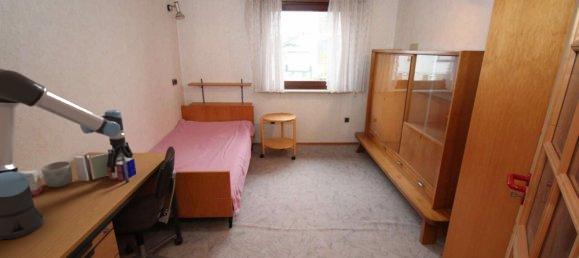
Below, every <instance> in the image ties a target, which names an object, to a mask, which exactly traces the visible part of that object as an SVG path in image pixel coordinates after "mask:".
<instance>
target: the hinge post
mask: <svg viewBox="0 0 579 258" xmlns="http://www.w3.org/2000/svg"><path fill="white" fill-rule="evenodd" d="M83 156H84V158H85V163H86V168H87V172H88V177H89V180H88V181H89V182H90V181H91V182H92V181H93V180H94V179H93V178H94V176H93V171H92V166H91V161H90V156H89V155H88V154H85V155H83Z"/></svg>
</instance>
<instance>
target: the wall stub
mask: <svg viewBox="0 0 579 258" xmlns="http://www.w3.org/2000/svg"><path fill="white" fill-rule="evenodd" d="M84 156H85V155H82V156H81V155H78V156H77V155H76V156H73V161H74V165H75V170H76V175H77V180H78V181H83V182H84V181H86V182H87V181H89V177H88V172H87V168H86V163H85V158H84Z"/></svg>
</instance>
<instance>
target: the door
mask: <svg viewBox="0 0 579 258" xmlns="http://www.w3.org/2000/svg"><path fill="white" fill-rule="evenodd" d="M115 154H116V153H115ZM119 157H125V155H124V154H123V153H122V152H121V153H120V154H119V156H118V158H119ZM125 158H126V157H125ZM89 159H90V165H91V170H92V175H93V178H94V179H99V178H102V177H106V176H109V173H108V168H107V163H108V152H106V153H102V154H98V155H92V156H89Z"/></svg>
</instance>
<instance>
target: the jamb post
mask: <svg viewBox="0 0 579 258" xmlns="http://www.w3.org/2000/svg"><path fill="white" fill-rule="evenodd" d="M125 158H126V157H122V162H123V168H124V174H125V183H126V184H128V183H130V178H128V172H127V165H126V159H125Z"/></svg>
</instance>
